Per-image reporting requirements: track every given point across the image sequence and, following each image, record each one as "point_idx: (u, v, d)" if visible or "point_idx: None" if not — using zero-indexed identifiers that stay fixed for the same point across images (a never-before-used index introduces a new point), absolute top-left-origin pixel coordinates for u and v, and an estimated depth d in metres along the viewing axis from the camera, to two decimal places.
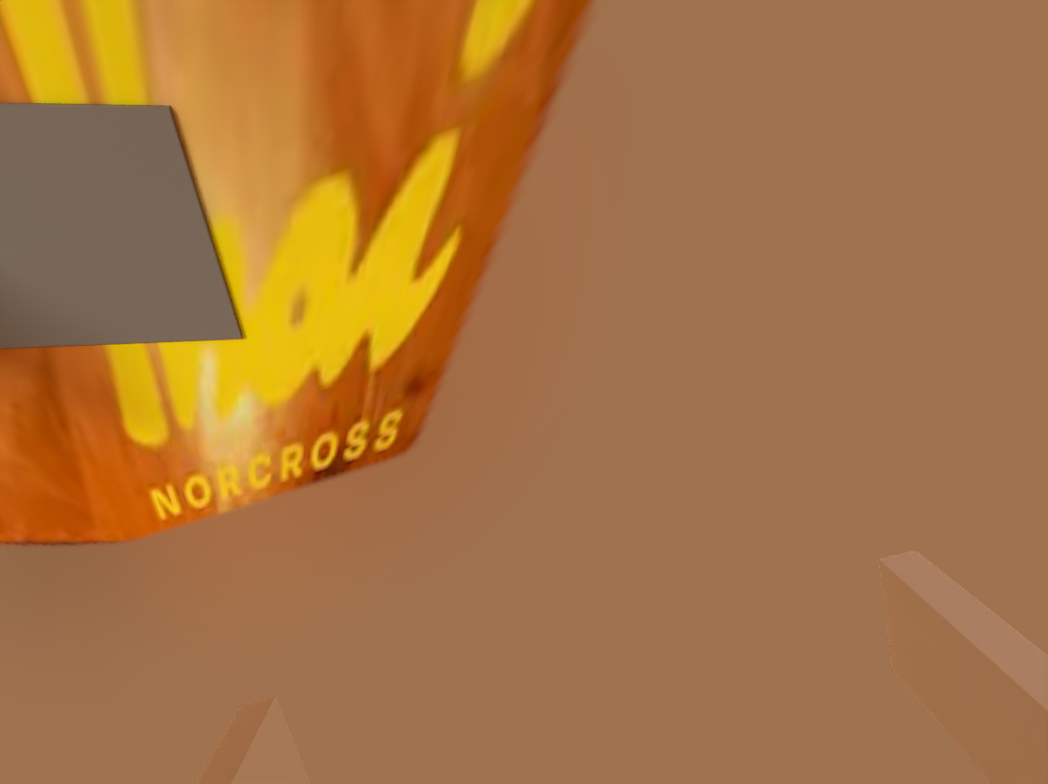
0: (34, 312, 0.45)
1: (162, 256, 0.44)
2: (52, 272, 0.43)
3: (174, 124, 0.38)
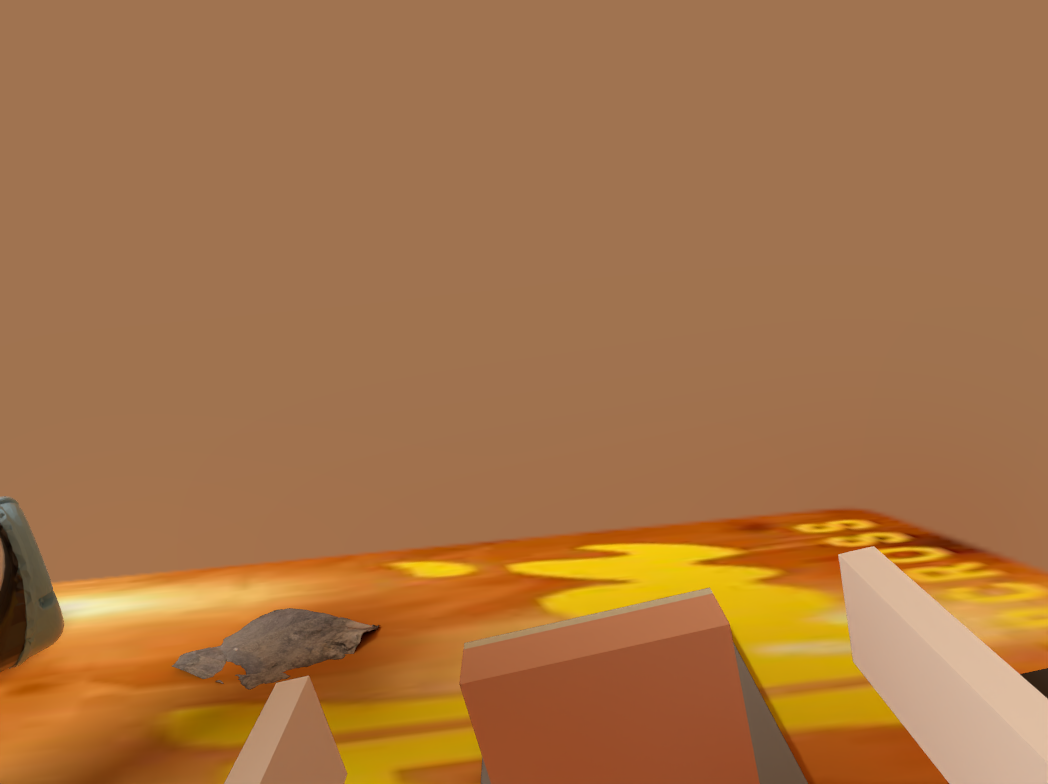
0: None
1: None
2: None
3: None
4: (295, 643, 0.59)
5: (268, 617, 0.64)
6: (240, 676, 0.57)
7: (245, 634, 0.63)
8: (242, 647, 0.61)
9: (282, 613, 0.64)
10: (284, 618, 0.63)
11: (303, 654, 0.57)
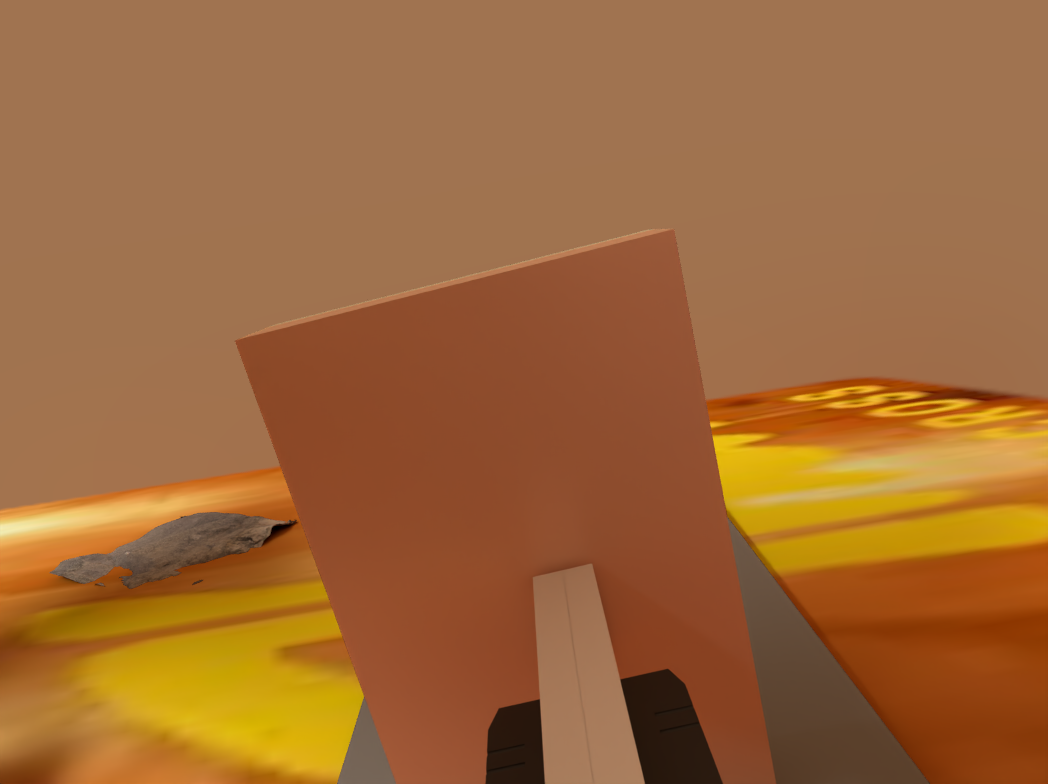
0: None
1: None
2: None
3: None
4: (195, 542, 0.50)
5: (172, 522, 0.55)
6: (125, 577, 0.47)
7: (142, 539, 0.53)
8: (135, 550, 0.51)
9: (188, 517, 0.55)
10: (189, 521, 0.54)
11: (202, 552, 0.48)
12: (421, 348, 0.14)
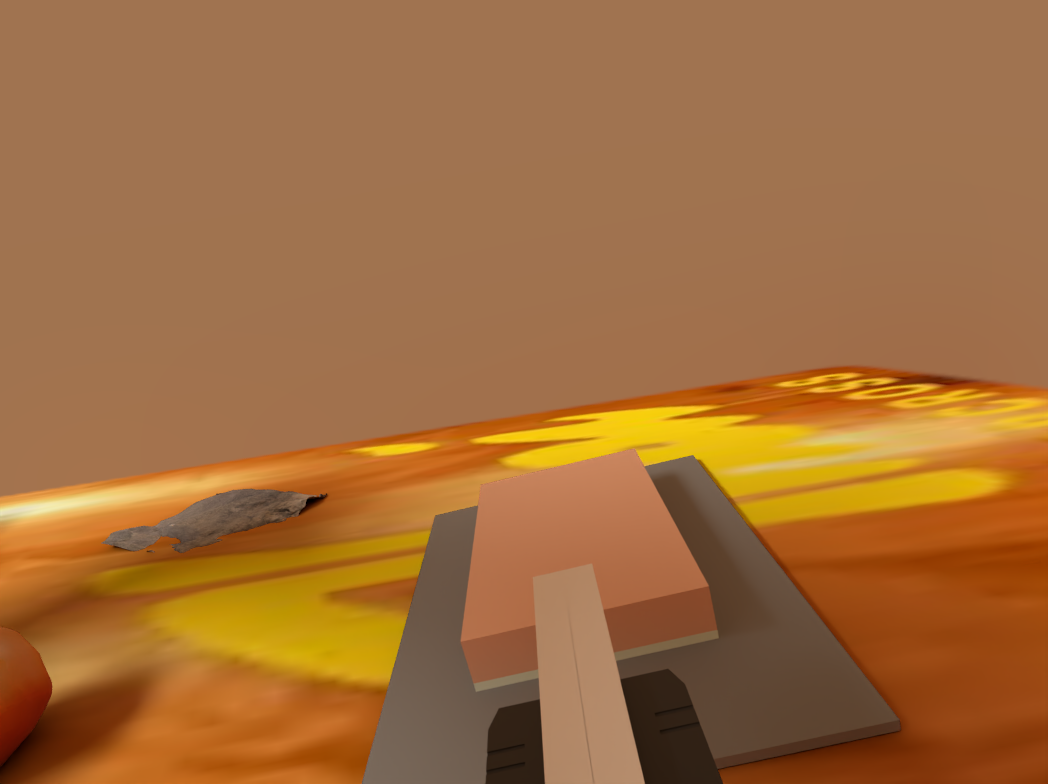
0: (698, 564, 0.31)
1: None
2: None
3: None
4: (235, 514, 0.55)
5: (209, 498, 0.60)
6: (174, 545, 0.52)
7: (184, 513, 0.58)
8: (179, 522, 0.56)
9: (225, 494, 0.60)
10: (226, 497, 0.59)
11: (243, 522, 0.53)
12: (542, 477, 0.40)
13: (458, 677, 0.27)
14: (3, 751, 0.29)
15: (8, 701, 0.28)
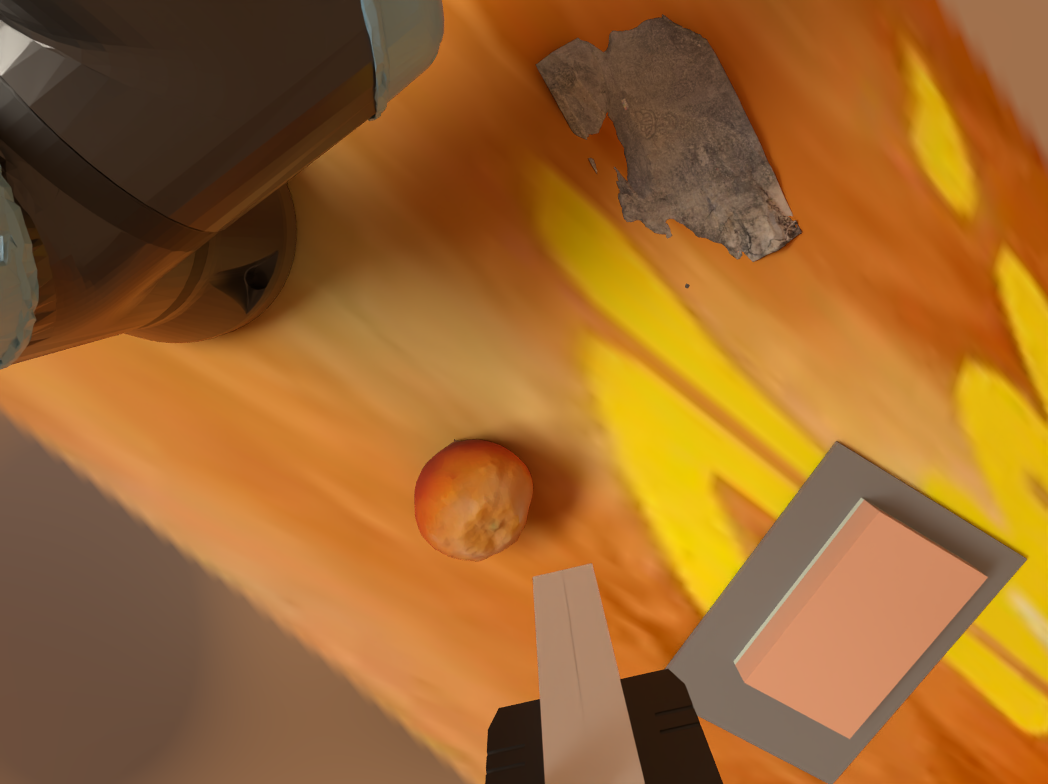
0: None
1: None
2: None
3: (848, 449, 0.46)
4: (699, 172, 0.41)
5: (684, 58, 0.39)
6: (619, 178, 0.41)
7: (644, 72, 0.39)
8: (634, 109, 0.40)
9: (705, 70, 0.39)
10: (704, 91, 0.40)
11: (701, 212, 0.42)
12: (912, 551, 0.45)
13: (733, 645, 0.50)
14: None
15: (520, 532, 0.44)
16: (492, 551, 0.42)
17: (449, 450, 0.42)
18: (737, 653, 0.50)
